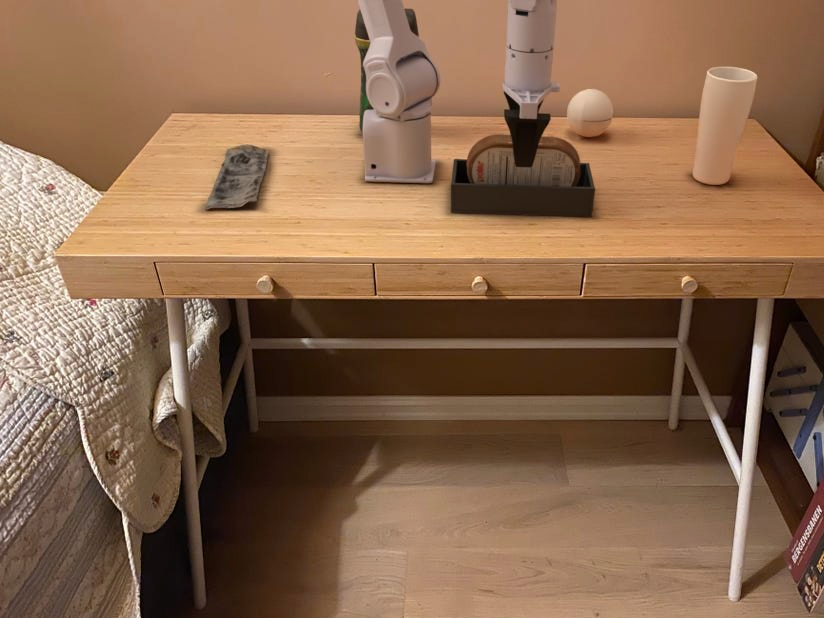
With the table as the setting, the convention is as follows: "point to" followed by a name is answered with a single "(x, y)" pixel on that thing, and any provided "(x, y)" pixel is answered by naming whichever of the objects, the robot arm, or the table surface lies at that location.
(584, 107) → the white ball
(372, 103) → the robot arm
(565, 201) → the bin
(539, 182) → the tin
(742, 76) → the drinking glass
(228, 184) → the driftwood
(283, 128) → the table surface
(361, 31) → the coffee jar
